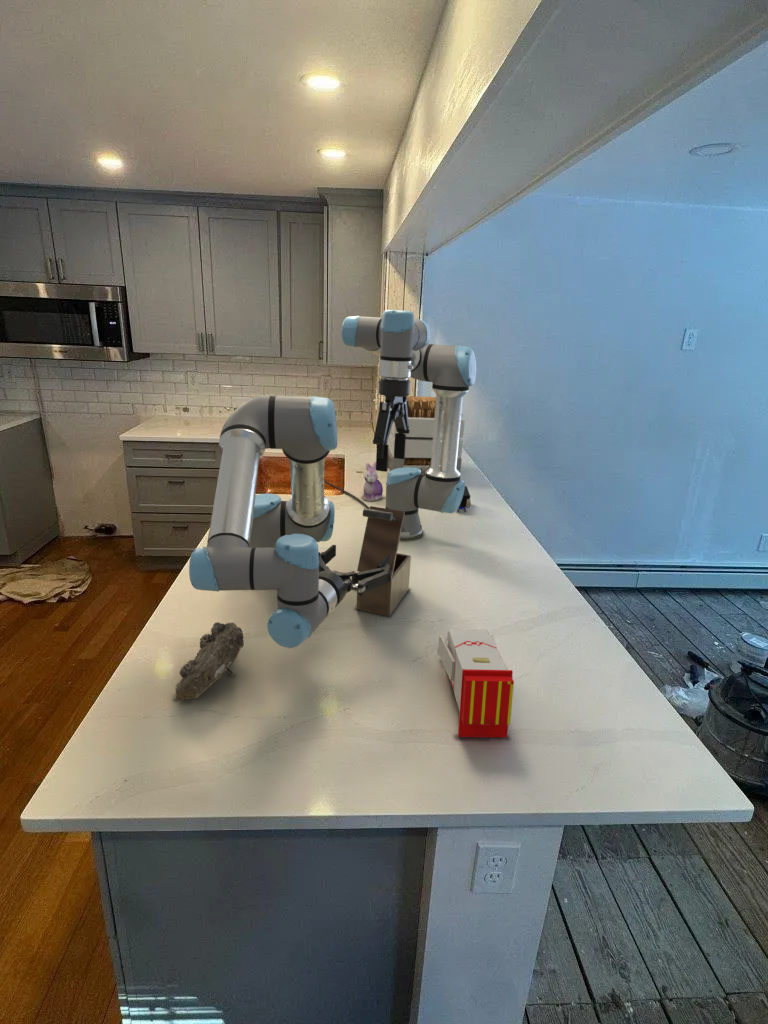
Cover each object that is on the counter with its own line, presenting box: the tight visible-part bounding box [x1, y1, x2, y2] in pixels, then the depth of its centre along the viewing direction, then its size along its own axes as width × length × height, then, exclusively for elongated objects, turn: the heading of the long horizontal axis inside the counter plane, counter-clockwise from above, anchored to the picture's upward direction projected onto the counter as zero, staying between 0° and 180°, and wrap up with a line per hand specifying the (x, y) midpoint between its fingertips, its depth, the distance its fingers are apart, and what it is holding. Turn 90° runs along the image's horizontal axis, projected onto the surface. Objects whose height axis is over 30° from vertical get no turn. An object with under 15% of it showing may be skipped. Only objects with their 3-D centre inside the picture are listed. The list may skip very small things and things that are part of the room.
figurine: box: [362, 461, 384, 502], centre depth 233 cm, size 9×10×15 cm
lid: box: [356, 505, 405, 578], centre depth 141 cm, size 17×9×8 cm
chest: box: [355, 552, 412, 617], centre depth 153 cm, size 17×9×10 cm, turn 160°
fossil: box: [174, 621, 245, 701], centre depth 119 cm, size 22×10×15 cm
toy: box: [437, 628, 515, 738], centre depth 117 cm, size 12×13×30 cm
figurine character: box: [456, 485, 472, 513], centre depth 228 cm, size 7×8×15 cm
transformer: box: [387, 395, 465, 475], centre depth 268 cm, size 34×33×41 cm
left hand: (361, 555), depth 132 cm, fingers open, 13 cm apart
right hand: (390, 464), depth 143 cm, fingers open, 13 cm apart
